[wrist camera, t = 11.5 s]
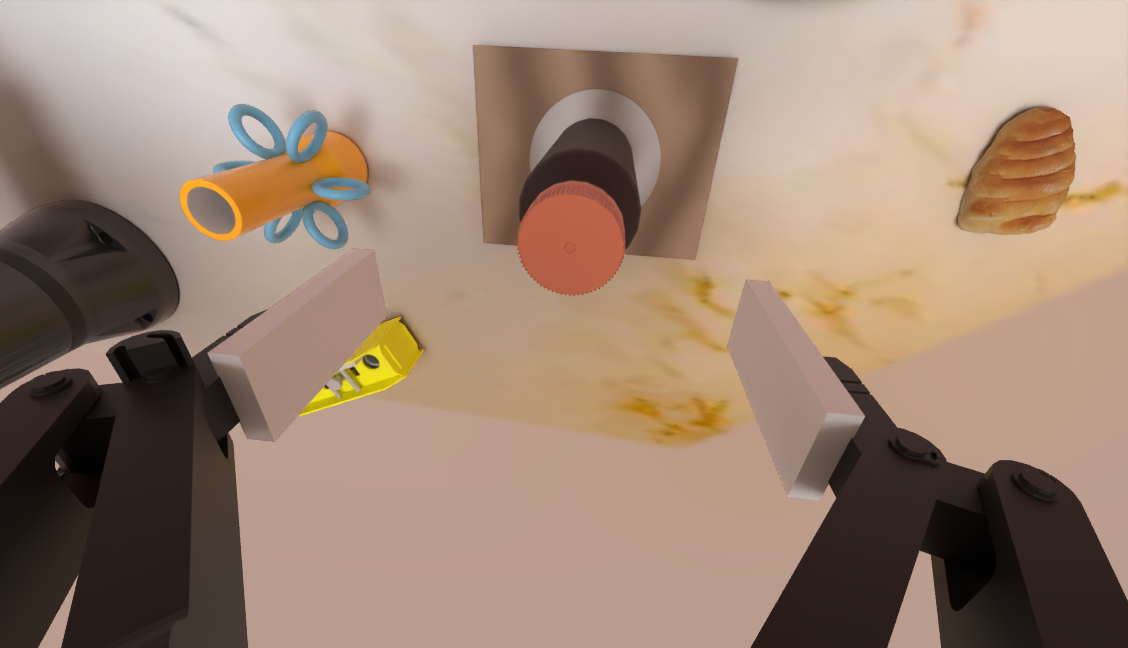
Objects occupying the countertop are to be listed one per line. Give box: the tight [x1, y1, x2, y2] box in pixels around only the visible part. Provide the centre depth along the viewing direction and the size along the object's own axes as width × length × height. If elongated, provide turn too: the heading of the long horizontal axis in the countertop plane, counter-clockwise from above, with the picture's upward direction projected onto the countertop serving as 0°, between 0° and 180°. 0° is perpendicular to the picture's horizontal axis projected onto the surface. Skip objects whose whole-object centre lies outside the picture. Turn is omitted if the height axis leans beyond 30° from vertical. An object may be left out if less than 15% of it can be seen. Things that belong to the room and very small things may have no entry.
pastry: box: [958, 107, 1076, 235], centre depth 34 cm, size 9×7×4 cm
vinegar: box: [517, 118, 641, 296], centre depth 28 cm, size 7×7×20 cm
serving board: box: [473, 45, 738, 260], centre depth 37 cm, size 20×16×2 cm
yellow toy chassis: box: [299, 316, 424, 416], centre depth 49 cm, size 16×6×8 cm, turn 113°
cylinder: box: [180, 104, 370, 249], centre depth 35 cm, size 12×10×15 cm
